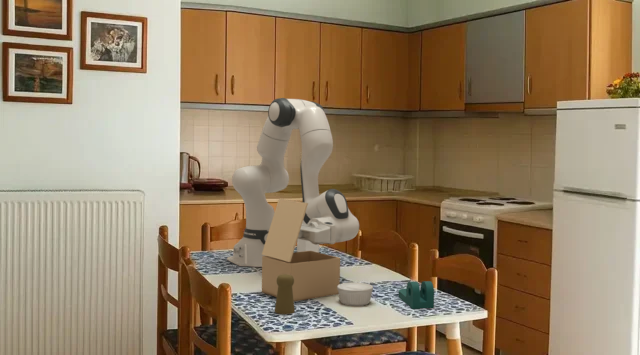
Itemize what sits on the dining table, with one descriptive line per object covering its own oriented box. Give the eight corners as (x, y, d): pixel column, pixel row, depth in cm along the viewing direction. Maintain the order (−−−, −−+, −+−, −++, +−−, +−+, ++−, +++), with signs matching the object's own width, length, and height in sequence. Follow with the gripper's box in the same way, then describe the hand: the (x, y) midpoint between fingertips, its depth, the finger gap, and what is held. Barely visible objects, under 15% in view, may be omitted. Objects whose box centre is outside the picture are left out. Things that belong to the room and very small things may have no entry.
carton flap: (262, 254, 234) (261, 254, 233) (280, 198, 236) (278, 198, 236) (290, 262, 222) (289, 261, 221) (308, 203, 225) (306, 203, 224)
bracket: (433, 309, 219) (434, 283, 219) (412, 309, 218) (413, 284, 217) (415, 295, 237) (416, 271, 236) (395, 295, 236) (396, 272, 235)
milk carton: (305, 254, 305) (306, 210, 304) (296, 251, 311) (297, 208, 310) (319, 253, 309) (320, 209, 308) (310, 250, 315) (311, 207, 313)
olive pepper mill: (299, 311, 211) (299, 275, 210) (283, 315, 207) (284, 277, 206) (285, 307, 215) (286, 271, 215) (270, 311, 211) (270, 274, 210)
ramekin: (334, 305, 220) (335, 289, 219) (338, 297, 231) (339, 281, 230) (371, 308, 218) (371, 291, 218) (373, 299, 229) (374, 283, 229)
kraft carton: (261, 292, 235) (262, 256, 234) (309, 284, 247) (310, 250, 246) (290, 302, 222) (291, 264, 222) (339, 293, 235) (340, 257, 234)
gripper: (299, 218, 245) (266, 220, 237) (338, 225, 230) (304, 228, 221) (299, 236, 246) (266, 239, 237) (338, 244, 230) (304, 248, 221)
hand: (285, 234), depth 229 cm, fingers closed, pressing on carton flap
